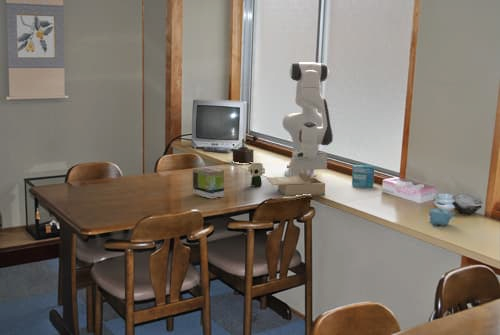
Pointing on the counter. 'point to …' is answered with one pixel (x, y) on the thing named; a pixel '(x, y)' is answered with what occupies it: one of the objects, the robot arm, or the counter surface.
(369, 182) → the data package
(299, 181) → the lid
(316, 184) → the tray
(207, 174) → the tea box
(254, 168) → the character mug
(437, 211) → the teapot
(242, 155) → the pepper mill
